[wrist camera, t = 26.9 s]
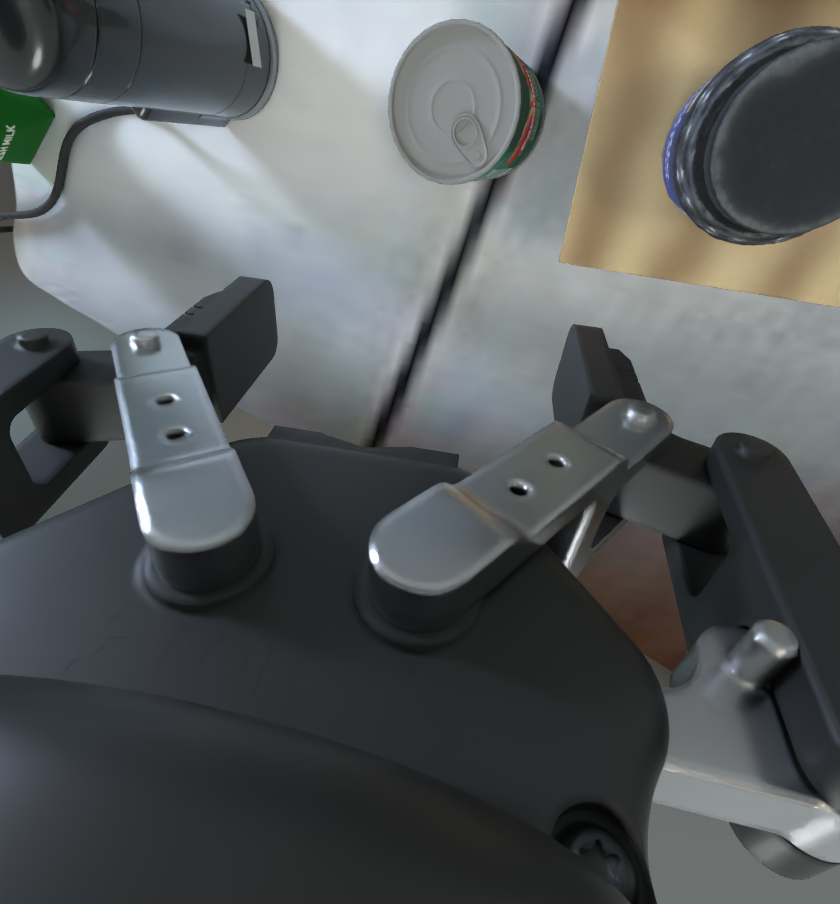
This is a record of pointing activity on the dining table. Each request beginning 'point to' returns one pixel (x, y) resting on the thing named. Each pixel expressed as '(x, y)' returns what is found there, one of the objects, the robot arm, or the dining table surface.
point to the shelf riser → (642, 140)
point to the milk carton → (22, 126)
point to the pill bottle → (762, 142)
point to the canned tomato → (464, 104)
